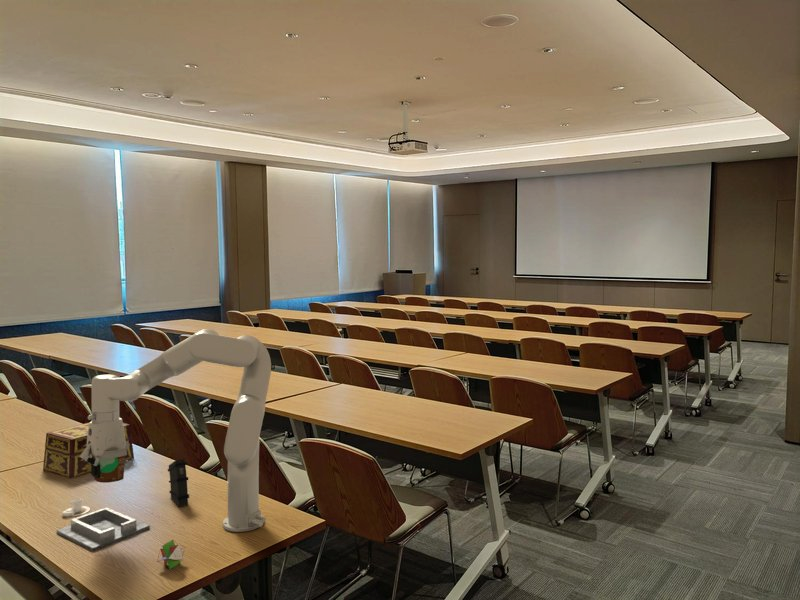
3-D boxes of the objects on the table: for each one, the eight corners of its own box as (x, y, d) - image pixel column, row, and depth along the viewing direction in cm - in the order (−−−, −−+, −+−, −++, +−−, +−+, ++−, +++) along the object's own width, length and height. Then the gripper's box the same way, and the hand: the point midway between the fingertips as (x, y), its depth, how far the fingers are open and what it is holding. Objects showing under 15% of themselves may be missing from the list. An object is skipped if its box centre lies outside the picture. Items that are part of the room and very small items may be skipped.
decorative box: (106, 451, 260) (106, 417, 259) (134, 458, 251) (133, 423, 250) (42, 470, 236) (41, 432, 235) (70, 479, 227) (69, 440, 226)
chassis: (149, 528, 186) (149, 517, 185) (92, 551, 171) (92, 539, 170) (113, 513, 197) (113, 502, 196) (56, 533, 182) (56, 522, 181)
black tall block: (180, 506, 199) (174, 460, 203) (171, 510, 209) (166, 466, 213) (191, 503, 201) (186, 458, 205) (182, 507, 211) (176, 465, 216)
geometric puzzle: (147, 560, 162) (160, 540, 160) (165, 548, 168) (178, 530, 166) (164, 579, 160) (177, 560, 158) (181, 567, 167) (195, 548, 164)
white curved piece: (64, 520, 192) (64, 508, 191) (56, 513, 197) (56, 500, 197) (93, 512, 198) (93, 500, 198) (85, 505, 203) (85, 493, 203)
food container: (80, 479, 181) (79, 447, 180) (97, 472, 187) (97, 441, 186) (110, 487, 177) (110, 454, 176) (127, 480, 182) (127, 448, 181)
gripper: (84, 423, 172) (84, 485, 173) (138, 412, 186) (138, 469, 187) (70, 419, 176) (70, 479, 177) (124, 408, 190) (124, 464, 191)
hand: (105, 473), depth 182 cm, fingers closed on food container, 5 cm apart
